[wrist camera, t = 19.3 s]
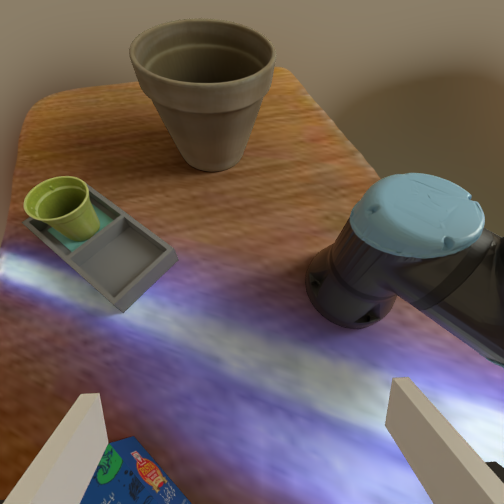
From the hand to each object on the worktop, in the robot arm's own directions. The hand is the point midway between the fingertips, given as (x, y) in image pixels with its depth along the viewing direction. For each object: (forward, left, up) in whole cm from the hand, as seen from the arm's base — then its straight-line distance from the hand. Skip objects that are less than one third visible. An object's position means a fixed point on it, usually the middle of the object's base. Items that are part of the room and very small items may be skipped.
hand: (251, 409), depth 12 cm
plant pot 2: (-38, -38, -30) cm, 62 cm away
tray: (-5, -36, -30) cm, 47 cm away
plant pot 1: (-5, -42, -29) cm, 51 cm away
